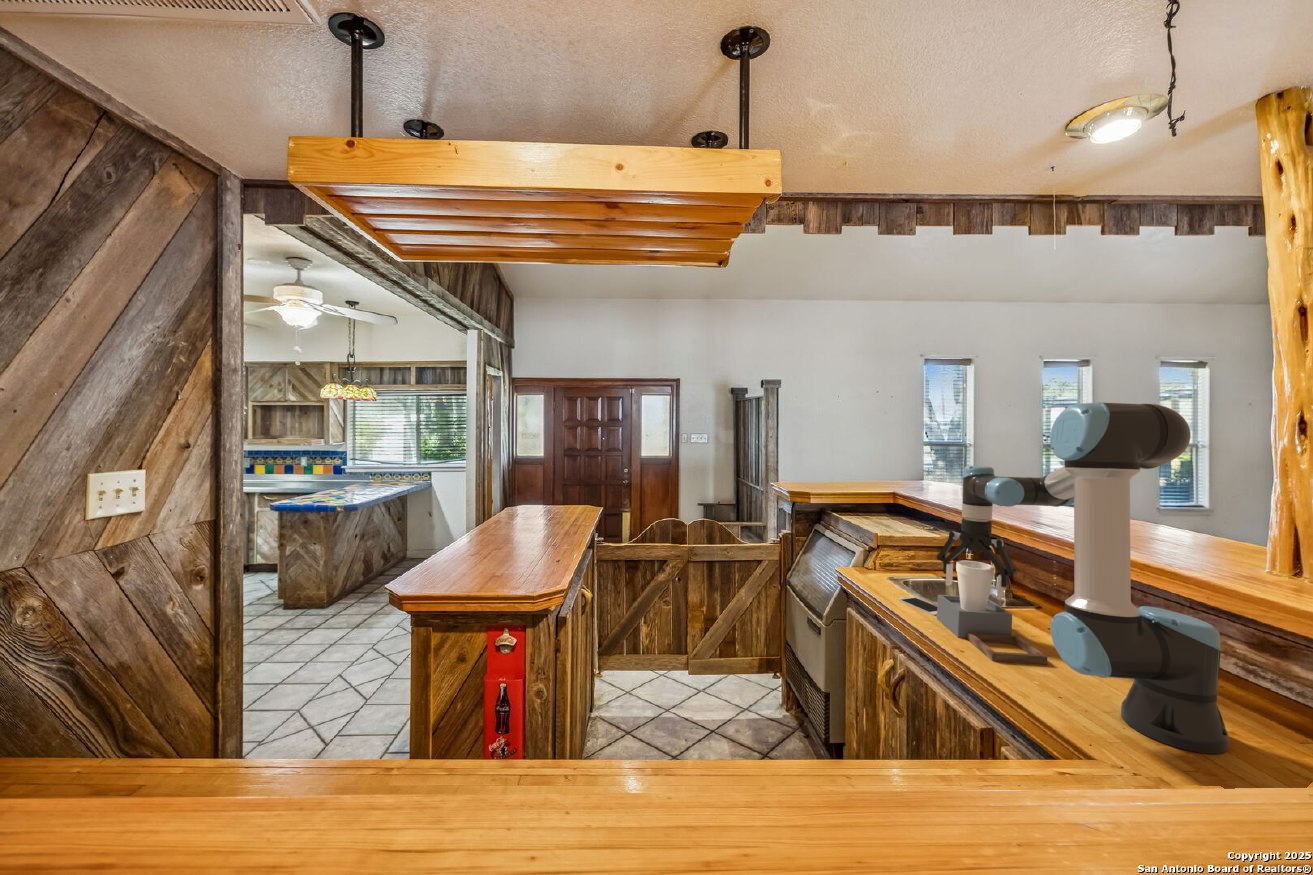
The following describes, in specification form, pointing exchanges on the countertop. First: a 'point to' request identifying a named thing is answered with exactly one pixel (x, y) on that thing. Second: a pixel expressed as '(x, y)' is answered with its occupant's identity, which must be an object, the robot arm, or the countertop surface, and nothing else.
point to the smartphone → (920, 605)
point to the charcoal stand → (972, 618)
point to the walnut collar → (1032, 656)
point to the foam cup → (974, 584)
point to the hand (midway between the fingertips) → (973, 591)
